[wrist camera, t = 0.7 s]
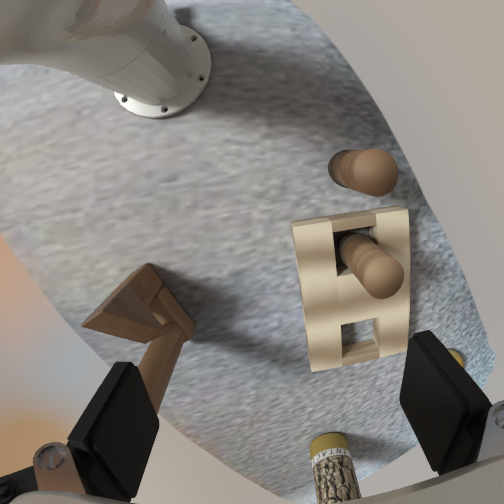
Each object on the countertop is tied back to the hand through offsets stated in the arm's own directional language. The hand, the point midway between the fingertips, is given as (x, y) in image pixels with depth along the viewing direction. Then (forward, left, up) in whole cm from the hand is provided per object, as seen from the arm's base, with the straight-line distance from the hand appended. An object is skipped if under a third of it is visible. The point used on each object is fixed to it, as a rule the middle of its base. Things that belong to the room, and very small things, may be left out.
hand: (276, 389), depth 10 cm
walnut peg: (-5, +10, -29) cm, 31 cm away
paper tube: (+41, +5, -29) cm, 51 cm away
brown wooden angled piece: (+8, -15, -29) cm, 34 cm away
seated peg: (+5, +10, -29) cm, 31 cm away
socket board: (+11, +10, -29) cm, 33 cm away
